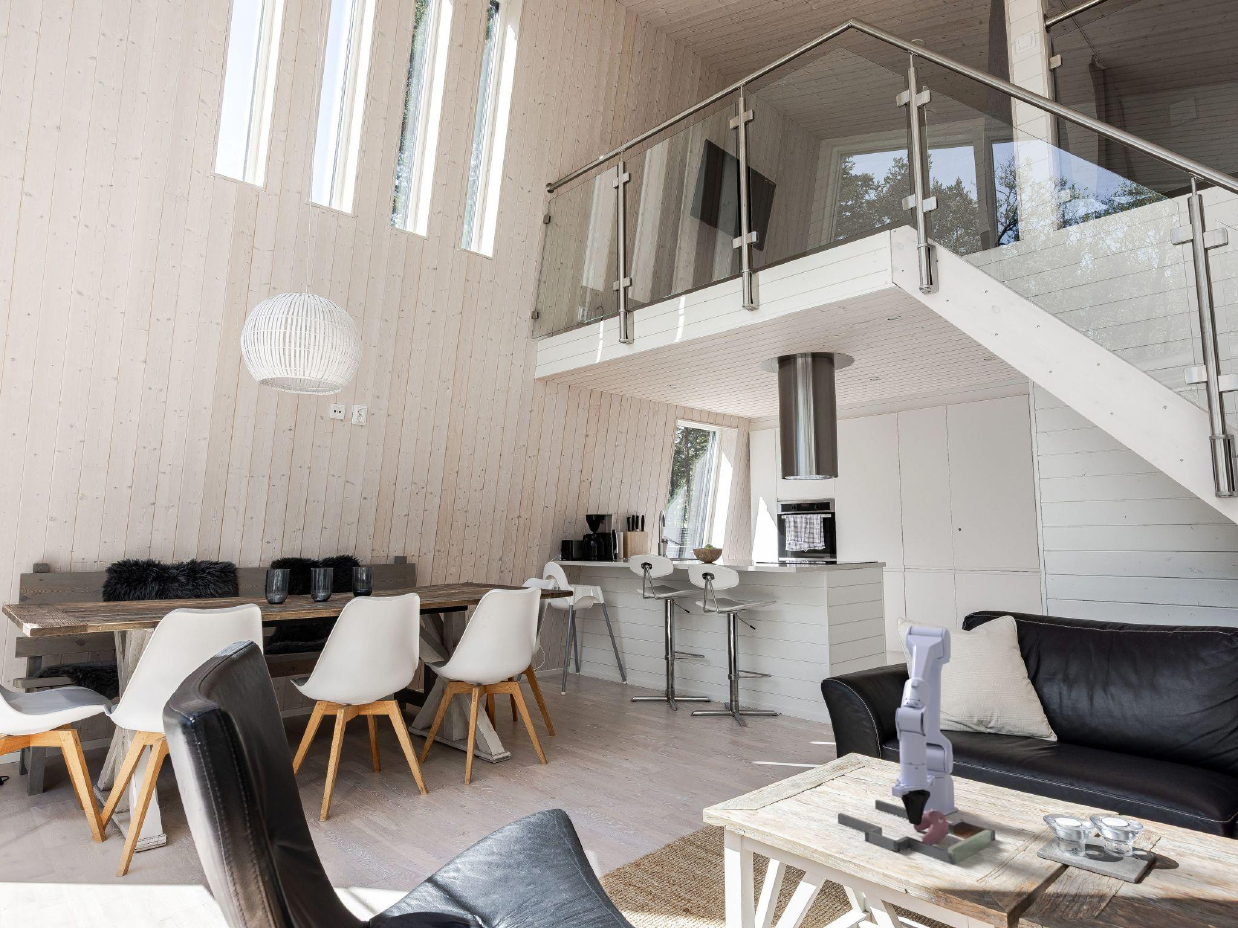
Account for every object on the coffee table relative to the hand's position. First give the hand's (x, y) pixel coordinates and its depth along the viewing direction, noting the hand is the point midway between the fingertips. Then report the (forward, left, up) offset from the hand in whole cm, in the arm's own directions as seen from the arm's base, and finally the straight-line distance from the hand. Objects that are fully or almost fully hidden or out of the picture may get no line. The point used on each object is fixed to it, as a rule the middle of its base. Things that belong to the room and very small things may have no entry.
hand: (914, 823), depth 171 cm
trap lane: (0, -1, -2) cm, 3 cm away
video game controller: (-1, +3, -3) cm, 4 cm away
